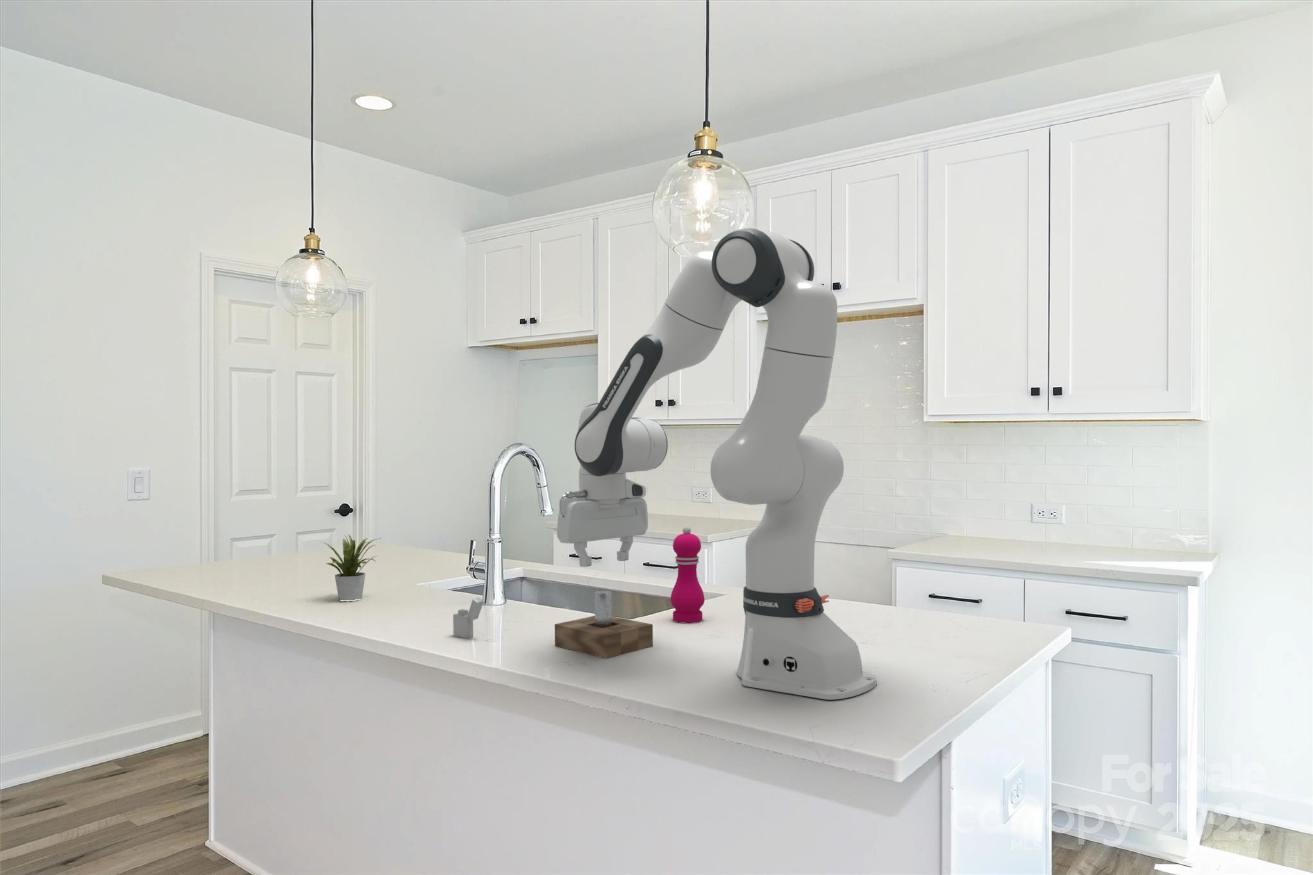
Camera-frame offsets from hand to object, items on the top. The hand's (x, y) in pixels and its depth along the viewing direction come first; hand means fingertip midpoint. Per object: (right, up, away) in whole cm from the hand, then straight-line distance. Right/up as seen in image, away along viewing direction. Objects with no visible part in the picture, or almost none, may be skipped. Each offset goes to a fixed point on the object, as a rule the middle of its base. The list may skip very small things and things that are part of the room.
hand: (604, 563), depth 160 cm
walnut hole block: (0, -15, 0) cm, 15 cm away
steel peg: (0, -15, 0) cm, 15 cm away
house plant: (-64, -16, +48) cm, 81 cm away
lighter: (-27, -16, +8) cm, 33 cm away
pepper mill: (+16, -15, +22) cm, 31 cm away
